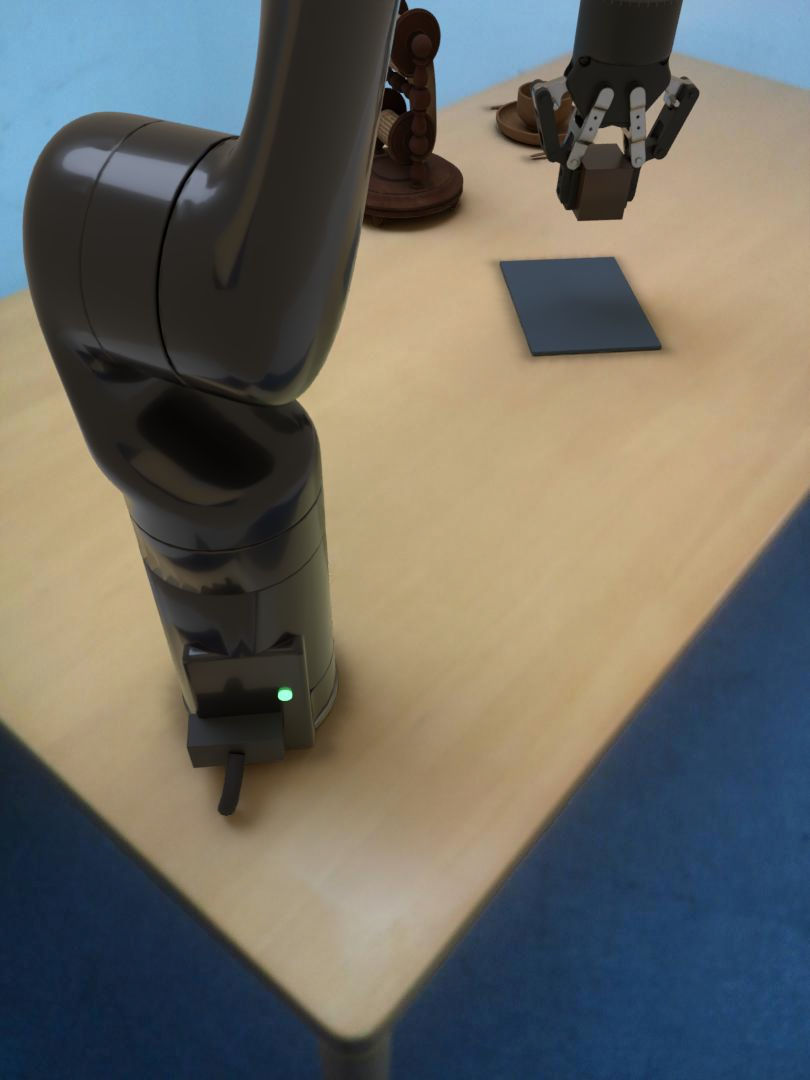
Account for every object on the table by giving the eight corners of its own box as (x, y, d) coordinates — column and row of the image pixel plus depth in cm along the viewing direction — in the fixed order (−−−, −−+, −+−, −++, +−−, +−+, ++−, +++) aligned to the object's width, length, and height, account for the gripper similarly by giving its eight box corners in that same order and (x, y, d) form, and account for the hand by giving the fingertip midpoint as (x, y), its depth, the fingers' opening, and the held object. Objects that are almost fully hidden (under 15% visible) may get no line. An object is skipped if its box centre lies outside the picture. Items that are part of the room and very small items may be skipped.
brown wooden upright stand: (486, 214, 96) (504, 10, 82) (365, 242, 92) (362, 31, 77) (423, 162, 105) (430, -30, 91) (310, 185, 100) (298, -14, 86)
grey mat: (661, 349, 79) (662, 345, 79) (531, 355, 78) (532, 352, 78) (613, 260, 90) (614, 256, 90) (499, 264, 89) (499, 260, 89)
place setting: (473, 108, 117) (476, 61, 113) (607, 94, 121) (615, 48, 117) (524, 163, 106) (530, 112, 101) (670, 145, 110) (682, 96, 106)
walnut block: (622, 219, 76) (633, 168, 72) (577, 221, 75) (586, 169, 72) (607, 193, 79) (616, 143, 76) (564, 194, 79) (572, 144, 75)
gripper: (551, -1, 61) (522, 229, 74) (745, -4, 62) (684, 223, 75) (529, -32, 66) (506, 188, 79) (709, -33, 68) (658, 184, 80)
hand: (593, 204), depth 77 cm, fingers closed on walnut block, 4 cm apart
